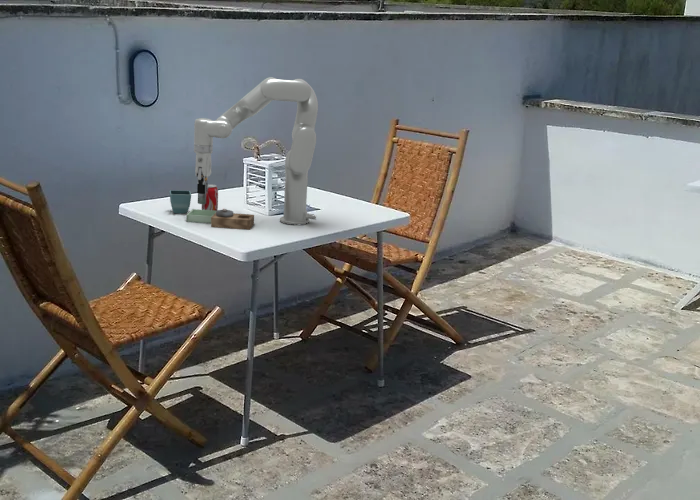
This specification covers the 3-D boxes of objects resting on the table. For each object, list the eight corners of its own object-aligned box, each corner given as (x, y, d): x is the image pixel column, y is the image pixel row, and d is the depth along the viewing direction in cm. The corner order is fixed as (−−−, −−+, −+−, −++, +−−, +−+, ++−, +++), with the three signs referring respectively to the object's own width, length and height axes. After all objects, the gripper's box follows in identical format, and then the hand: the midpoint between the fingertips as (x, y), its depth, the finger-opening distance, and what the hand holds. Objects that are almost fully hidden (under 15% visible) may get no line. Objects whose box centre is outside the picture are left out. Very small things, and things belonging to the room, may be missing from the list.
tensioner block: (254, 224, 336) (254, 208, 334) (250, 229, 326) (250, 214, 324) (216, 221, 336) (216, 205, 335) (211, 227, 327) (211, 211, 325)
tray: (218, 217, 343) (218, 210, 342) (212, 223, 332) (212, 216, 331) (192, 215, 343) (192, 209, 342) (186, 221, 332) (186, 214, 332)
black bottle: (207, 202, 337) (208, 177, 334) (205, 204, 334) (206, 178, 331) (198, 201, 337) (199, 176, 334) (196, 203, 334) (197, 177, 331)
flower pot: (189, 210, 353) (189, 190, 350) (191, 214, 345) (191, 194, 342) (169, 210, 350) (169, 190, 348) (170, 214, 342) (170, 194, 340)
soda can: (214, 214, 347) (214, 187, 344) (198, 213, 348) (199, 186, 345) (220, 211, 354) (220, 184, 350) (205, 209, 355) (205, 183, 352)
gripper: (208, 152, 321) (206, 197, 326) (216, 146, 337) (215, 189, 342) (189, 151, 322) (188, 195, 326) (198, 145, 337) (197, 188, 342)
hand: (202, 192), depth 334 cm, fingers closed on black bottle, 3 cm apart
